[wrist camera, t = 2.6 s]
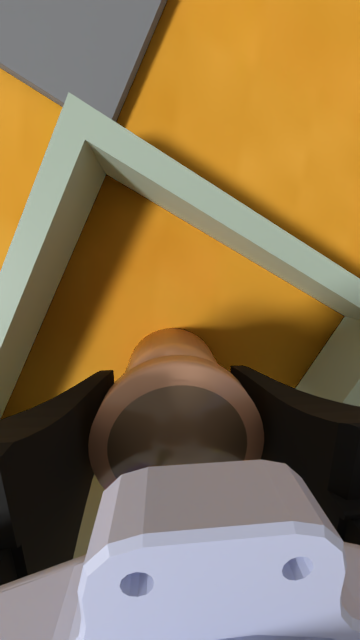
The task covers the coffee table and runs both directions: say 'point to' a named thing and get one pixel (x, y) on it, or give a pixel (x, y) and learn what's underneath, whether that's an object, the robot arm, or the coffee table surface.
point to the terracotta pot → (173, 411)
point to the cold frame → (181, 200)
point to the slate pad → (78, 47)
